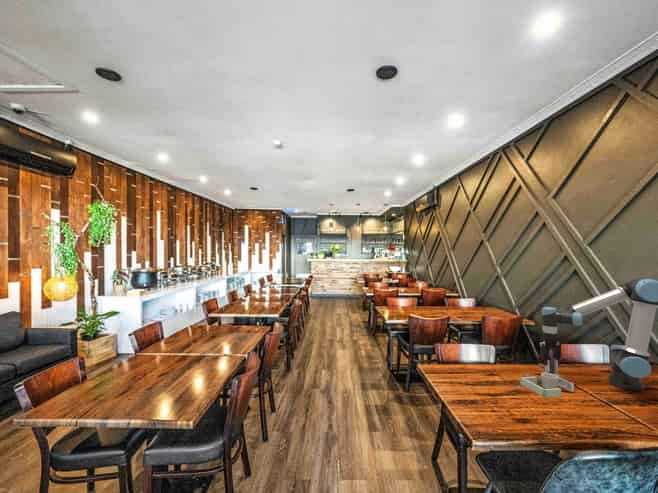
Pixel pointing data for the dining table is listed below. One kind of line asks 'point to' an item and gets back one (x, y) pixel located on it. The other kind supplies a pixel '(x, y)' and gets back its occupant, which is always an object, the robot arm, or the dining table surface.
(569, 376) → the dining table surface
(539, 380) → the rail
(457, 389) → the dining table surface
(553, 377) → the cup
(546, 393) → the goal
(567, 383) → the kicker
